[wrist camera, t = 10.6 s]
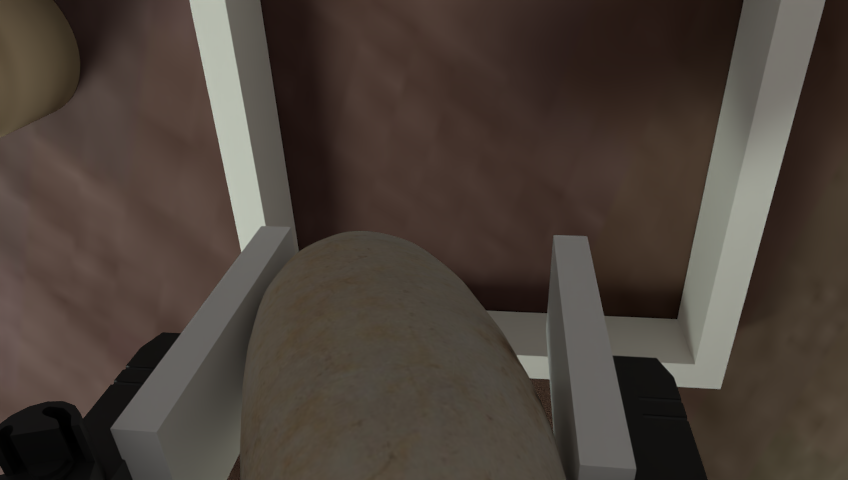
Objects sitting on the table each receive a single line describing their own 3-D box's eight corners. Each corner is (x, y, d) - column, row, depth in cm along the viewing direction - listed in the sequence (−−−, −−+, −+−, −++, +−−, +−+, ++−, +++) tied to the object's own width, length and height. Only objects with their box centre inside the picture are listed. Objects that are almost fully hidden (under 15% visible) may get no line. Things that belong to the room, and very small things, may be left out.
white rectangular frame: (285, 321, 25) (264, 362, 23) (202, -145, 17) (158, -151, 15) (700, 342, 23) (720, 389, 21) (823, -176, 15) (875, -187, 13)
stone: (273, 219, 16) (-134, 780, 6) (474, 96, 14) (370, 667, 4) (396, 366, 18) (248, 974, 8) (589, 281, 16) (728, 977, 6)
